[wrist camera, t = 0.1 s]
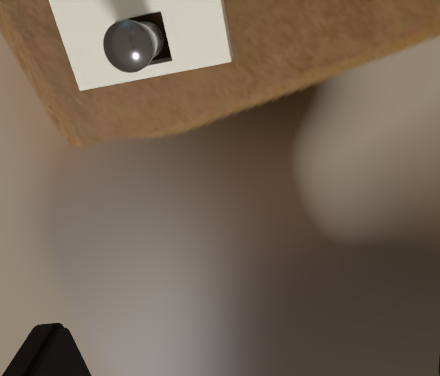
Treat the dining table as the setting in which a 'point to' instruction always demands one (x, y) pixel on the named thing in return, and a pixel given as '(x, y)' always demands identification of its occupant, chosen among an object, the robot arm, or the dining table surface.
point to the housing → (134, 7)
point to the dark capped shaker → (132, 44)
